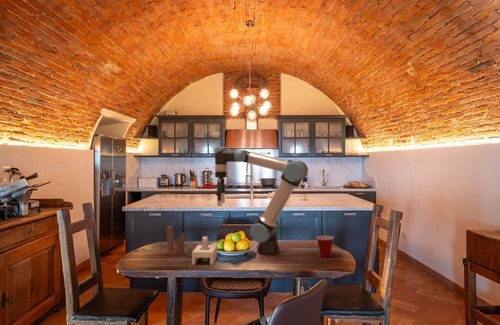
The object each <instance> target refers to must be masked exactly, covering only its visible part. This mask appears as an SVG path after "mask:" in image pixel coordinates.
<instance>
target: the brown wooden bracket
mask: <svg viewBox="0 0 500 325" xmlns="http://www.w3.org/2000/svg"><path fill="white" fill-rule="evenodd" d="M166 239H167V242H166V245H167V246H166V247H167V248H166V250H165V252H166V256H179V257H181V256H182V257H183V256H184V255H185V232H182V233H181V234H180V235H179V236H178V238H176V239H175V240H174V227H173V225H170V226H167V227H166ZM174 245H177V248H175V247H174Z"/></svg>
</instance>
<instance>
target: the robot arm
mask: <svg viewBox="0 0 500 325" xmlns="http://www.w3.org/2000/svg"><path fill="white" fill-rule="evenodd" d="M230 162H231V163H237V162H238V163H241V162H242V163H246V164H250V165H253V166H258V167H262V168H266V169H270V170H274V171H278V172H281V173H282V174H281V176H280V183H279V185H278V186H277V188H276V191H275V192H274V193H273V196H272V198H271V199H270V202H269V203H268V205H267V207H266V208H265V211H264V212H263V214H262V215H259V216H258V218H257V220H256V221H255V223H254V224H253V225H252V226H251V227H250V232H249V233H250V237H251V238H252V240H253V241H255V242H257V244H258V245H257V247H256V253H257V254H258V255H261V256H276V255H279V254H280V253H281V248H280V244H279V242H278V218H279V216H280V215H281V213H282V211H283V210H284V208H285V205H286V204H287V202H288V200H289V198H290V196H291V195H292V193H293V191H294V189H296V188H299V186H300V184H301V182H302V180H304V179H305V178H306V177H307V176H308V174H309V167H308V166H307V164H306V163H305V162H304V161H302V160H292V159H288V160H285V159H281V158H277V157H272V156H270V155H269V156H268V155H264V154H260V153H256V152H252V151H248V150H245V149H228V148H227V147H226V146H217V147H215V148H214V164H215V165H214V166H213V167H214V168H215V169H214V177H215V178H218V179H217V185H216V194H215V196H216V199H217V200H216V201H217V202H216V203H217V205H216V206H217V207H222V206H223V204H225V203H226V201H225V200H226V198H225V197H226V192H227V191H226V187H225V186H226V185H225V184H226V183H225V178H227V177H228V171H227V170H228V164H227V163H230Z"/></svg>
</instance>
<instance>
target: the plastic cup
mask: <svg viewBox="0 0 500 325" xmlns="http://www.w3.org/2000/svg"><path fill="white" fill-rule="evenodd" d="M315 238H316V241H317V244H318V250H319V255H320V257H322V258H330V257H331V253H332V247H333V242H334V236H332V235H318V236H317V237H315Z"/></svg>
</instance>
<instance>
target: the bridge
mask: <svg viewBox="0 0 500 325" xmlns="http://www.w3.org/2000/svg"><path fill="white" fill-rule="evenodd" d="M217 257H218V244H208V250H202V244H198V245H197V246H196V247H195V248H193V252H192V257H191V265H196V263H197V262H198V261H199V259H200V258H201V259H202V258H208V259H209V265H210V266H211V265H214V263H215V262H216V260H217Z"/></svg>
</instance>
